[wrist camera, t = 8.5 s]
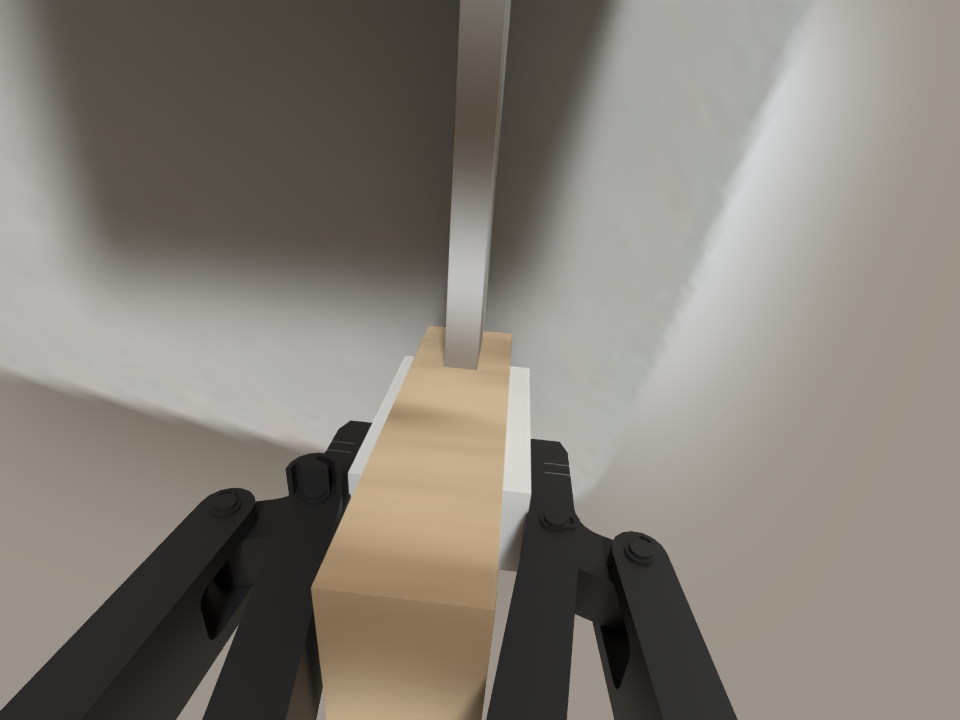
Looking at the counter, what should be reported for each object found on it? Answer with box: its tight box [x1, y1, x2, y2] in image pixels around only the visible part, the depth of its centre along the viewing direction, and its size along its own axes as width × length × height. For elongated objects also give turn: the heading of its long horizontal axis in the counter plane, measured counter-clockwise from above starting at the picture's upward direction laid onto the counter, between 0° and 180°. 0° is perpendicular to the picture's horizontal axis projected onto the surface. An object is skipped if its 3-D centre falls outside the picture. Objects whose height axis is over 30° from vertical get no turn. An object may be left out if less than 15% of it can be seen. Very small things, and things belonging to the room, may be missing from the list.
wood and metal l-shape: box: [311, 0, 512, 720], centre depth 11 cm, size 18×3×11 cm, turn 176°
